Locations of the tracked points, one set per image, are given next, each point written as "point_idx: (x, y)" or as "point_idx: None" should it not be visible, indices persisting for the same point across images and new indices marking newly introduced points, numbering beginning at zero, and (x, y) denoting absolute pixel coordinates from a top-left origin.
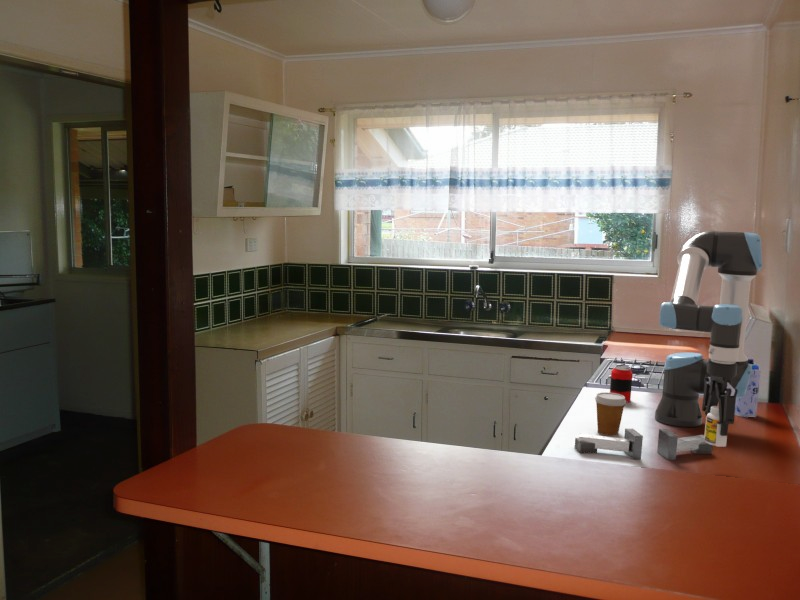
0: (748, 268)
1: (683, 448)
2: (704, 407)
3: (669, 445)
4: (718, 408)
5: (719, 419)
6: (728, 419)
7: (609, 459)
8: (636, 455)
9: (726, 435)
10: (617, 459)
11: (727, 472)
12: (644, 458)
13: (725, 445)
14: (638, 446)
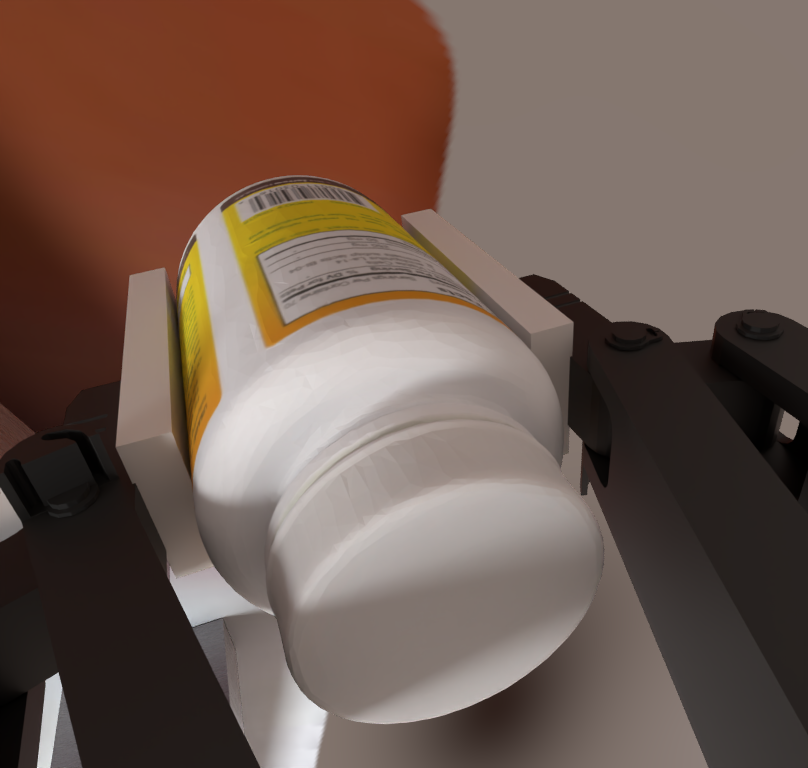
0: None
1: (2, 423)
2: (39, 728)
3: (169, 566)
4: (509, 618)
5: (596, 488)
6: (773, 419)
7: (262, 725)
8: (232, 658)
9: (536, 280)
10: (251, 701)
11: (357, 113)
12: (184, 603)
13: (434, 218)
14: (235, 705)
